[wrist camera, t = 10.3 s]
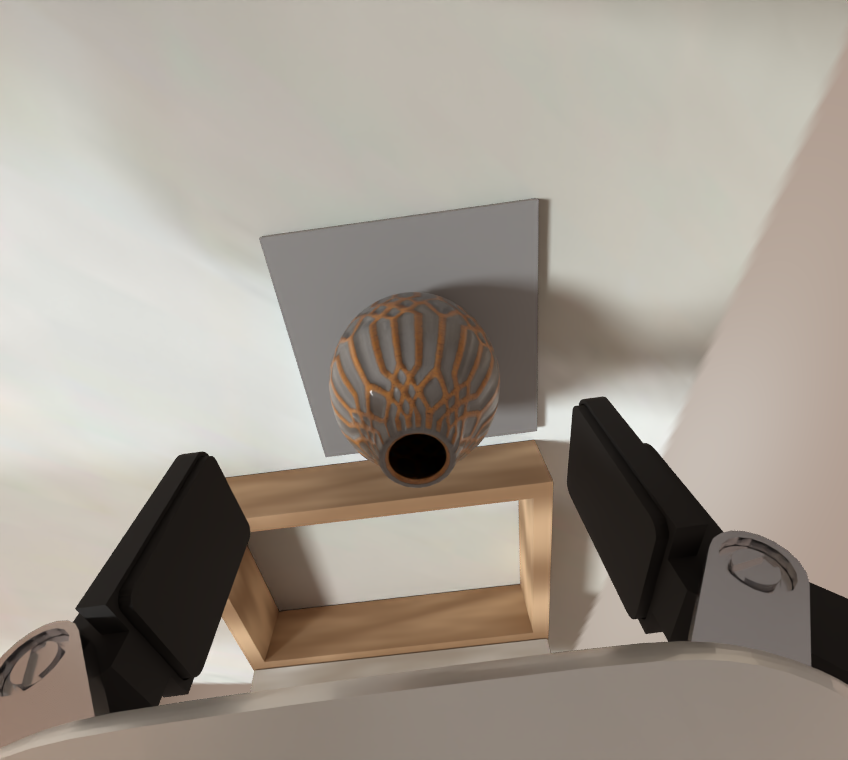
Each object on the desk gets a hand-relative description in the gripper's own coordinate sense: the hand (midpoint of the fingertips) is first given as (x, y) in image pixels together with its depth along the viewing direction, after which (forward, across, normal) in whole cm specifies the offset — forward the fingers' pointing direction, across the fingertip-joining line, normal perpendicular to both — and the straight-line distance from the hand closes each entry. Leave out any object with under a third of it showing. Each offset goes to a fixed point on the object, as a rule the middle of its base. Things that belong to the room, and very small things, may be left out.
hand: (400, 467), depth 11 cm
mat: (+11, -1, +2) cm, 11 cm away
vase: (+10, -1, +2) cm, 10 cm away
